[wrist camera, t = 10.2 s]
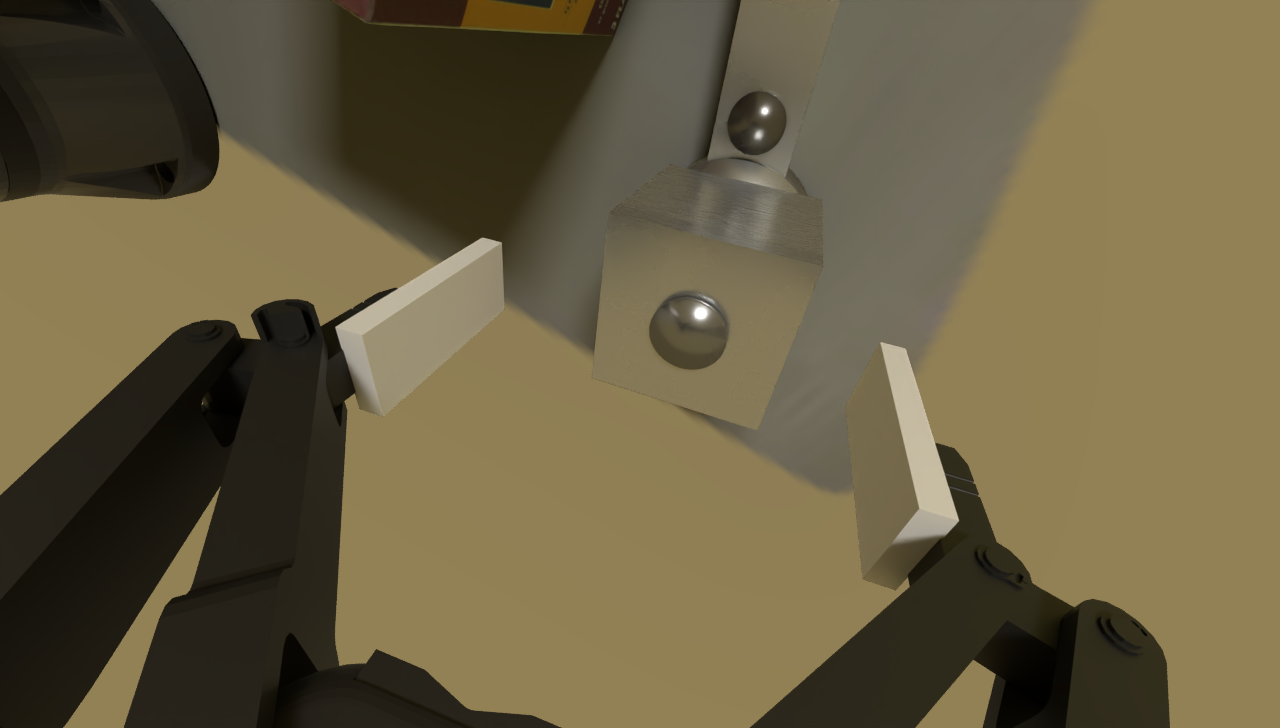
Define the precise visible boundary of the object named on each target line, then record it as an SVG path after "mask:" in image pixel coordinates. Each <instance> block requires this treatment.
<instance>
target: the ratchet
mask: <svg viewBox="0 0 1280 728" xmlns="http://www.w3.org/2000/svg"><path fill="white" fill-rule="evenodd" d="M839 4H840V0H741V3H740V8H739V13H738V18H737V22H736V27H735V32H734V36H733V41H732V46H731V51H730V55H729V60H728V65H727V69H726V74H725V79H724V83H723V88H722V93H721V98H720V102H719V107H718V112H717V116H716V121H715V126H714V131H713V135H712V140H711V145H710V149H709V154H708V155H706V156H704V157H702V158H700V159H699V160H697V161H695V162H694V163H692V164H691V165H690V166H689V167H688V169H692V170H697V171H701V172H705V173H710V174H714V175H718V176H723V177H727V178H732V179H736V180H740V181H745V182H749V183H753V184H758V185H762V186H766V187H771V188H775V189H779V190H784V191H788V192H793V193H797V194H801V195H806V196H807V194H806V191H805V189H804V187H803V185H802V184H801V182H800V181H799V179H798V178H797V177H796V175H795V174H794V173H793V172H792V171H791V170H790V169H789V168H788V167H789V164H790V161H791V158H792V154H793V151H794V148H795V145H796V142H797V138H798V135H799V132H800V129H801V126H802V122H803V119H804V116H805V113H806V109H807V106H808V103H809V100H810V97H811V93H812V90H813V87H814V84H815V81H816V77H817V74H818V71H819V68H820V65H821V61H822V58H823V55H824V52H825V49H826V45H827V42H828V39H829V36H830V32H831V29H832V26H833V23H834V20H835V16H836V13H837V10H838V7H839Z"/></svg>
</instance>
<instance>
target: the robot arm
mask: <svg viewBox="0 0 1280 728" xmlns="http://www.w3.org/2000/svg"><path fill="white" fill-rule="evenodd" d="M218 162H219V139H218V132H217V127H216V123H215V118H214V115H213V111H212V108H211V105H210V102H209V99H208V97H207V94H206V92H205V89H204V87H203V84H202V82H201V80H200V78H199V76H198V74H197V71H196V69H195V67H194V66H193V64H192V62H191V60H190V58H189V56H188V54H187V53H186V51H185V49H184V48H183V46H182V44H181V43H180V41H179V39H178V38H177V36H176V35H175V33H174V32H173V30H172V29H171V27H170V26H169V24H168V23H167V22H166V20H165V19H164V17H163V16H162V15H161V14H160V12H159V11H158V10H157V8H156V7H155V6H154V5H153V3H152V2H151V1H150V0H0V202H3V201H9V200H14V199H19V198H25V197H30V196H36V195H42V194H43V195H44V194H59V195H78V196H96V197H97V196H98V197H116V198H136V199H167V198H172V197H177V196H181V195H185V194H190V193H194V192H198V191H201V190H202V189H204V188H206V187H207V186H208V185H209V184H210V183H211V181H212V180H213V178H214V176H215V174H216V171H217V168H218ZM503 310H504V285H503V261H502V242H498V241H494V240H490V239H486V238H483V237H482V238H481V239H479V240H477V241H476V242H474V243H472V244H471V245H469V246H467V247H466V248H464V249H463V250H461V251H459V252H458V253H456V254H454V255H453V256H451V257H449V258H448V259H446V260H444V261H443V262H441V263H440V264H438V265H436V266H435V267H433V268H431V269H430V270H428V271H426V272H425V273H423V274H422V275H420V276H418V277H417V278H415V279H413V280H412V281H410V282H408V283H407V284H405V285H403V286H402V287H400V288H393V289H389V290H386V291H383V292H379V293H377V294H375V295H373V296H372V297H370V298H368V299H367V300H365V301H364V303H362V302H361V303H360V304H358V305H357V306H355V307H354V308H353V309H350V310H348V311H346V312H345V313H343V314H341V315H339V316H338V317H336V318H334V319H333V320H331V321H329V322H328V323H326V324H324V325H322V326H320V323H319V320H318V317H317V314H316V311H315V308H314V305H313V304H311V303H309V302H308V301H303V300H299V299H286V300H279V301H274V302H271V303H268V304H265V305H262V306H261V307H259V308H257V309H256V310H255V311H254V312H253V313H252V314H251V317H252V320H253V322H254V324H255V327H256V329H257V332H258V334H259V336H260V339H261V340H259V339H246V338H241V337H240V335H239V333H238V330H237V328H236V326H235V324H233V323H231V322H229V321H223V320H204V321H200V322H194V323H191V324H190V325H187V326H185V327H182V328H180V329H179V330H177V331H176V332H174V333H173V334H172V335H171V336H169V337H168V338H167V339H166V340H165V341H164V342H163V343H162V344H161V345H160V346H159V347H158V348H157V349H156V350H154V351H153V352H152V353H151V354H150V355H149V356H148V357H147V358H146V359H145V360H144V361H143V362H142V363H141V364H140V365H139V366H138V367H136V368H135V369H134V370H133V371H132V372H131V373H130V374H129V375H128V376H127V377H126V378H125V379H124V380H123V381H121V382H120V383H119V384H118V385H117V386H116V387H115V388H114V389H113V390H112V391H111V392H110V393H109V394H108V395H107V396H106V397H104V398H103V399H102V400H101V401H100V402H99V403H98V404H97V405H96V406H95V407H94V408H93V409H92V410H91V411H90V412H89V413H87V415H85V416H84V417H83V418H82V419H81V420H80V421H79V422H78V423H77V424H76V425H75V426H74V427H73V428H72V429H71V430H69V431H68V432H67V433H66V434H65V435H64V436H63V437H62V438H61V439H60V440H59V441H58V442H57V443H56V444H54V445H53V446H52V447H51V448H50V449H49V450H48V451H47V452H46V453H45V454H44V455H43V456H42V457H41V458H40V459H39V460H37V461H36V462H35V463H34V464H33V465H32V466H31V467H30V468H29V469H28V470H27V471H26V472H25V473H24V474H23V475H22V476H21V477H19V478H18V479H17V480H16V481H15V482H14V483H13V484H12V485H11V486H10V487H9V488H8V489H7V490H6V491H4V492H3V494H1V495H0V728H63V727H64V726H65V725H66V723H67V722H68V721H69V719H70V718H71V716H72V715H73V713H74V712H75V710H76V709H77V708H78V706H79V705H80V703H81V702H82V701H83V699H84V698H85V696H86V695H87V693H88V692H89V690H90V689H91V688H92V686H93V685H94V683H95V681H96V680H97V678H98V677H99V675H100V674H101V672H102V670H103V669H104V667H105V666H106V664H107V663H108V661H109V659H110V658H111V656H112V655H113V653H114V652H115V650H116V648H117V647H118V645H119V644H120V642H121V641H122V639H123V637H124V636H125V634H126V633H127V631H128V630H129V628H130V627H131V625H132V623H133V622H134V620H135V619H136V617H137V616H138V614H139V612H140V611H141V609H142V608H143V606H144V605H145V603H146V602H147V600H148V598H149V597H150V595H151V594H152V592H153V591H154V589H155V587H156V586H157V584H158V583H159V581H160V580H161V578H162V576H163V575H164V573H165V572H166V570H167V569H168V567H169V566H170V564H171V562H172V561H173V559H174V558H175V556H176V555H177V553H178V551H179V550H180V548H181V547H182V545H183V544H184V542H185V541H186V539H187V537H188V536H189V534H190V532H191V531H192V529H193V528H194V526H195V525H196V523H197V522H198V520H199V519H200V517H201V515H202V514H203V512H204V511H205V509H206V508H207V506H208V505H209V503H210V501H211V500H212V498H213V497H214V495H215V494H216V492H217V490H218V489H219V487H220V486H221V488H220V491H219V495H218V498H217V502H216V505H215V509H214V512H213V516H212V519H211V522H210V526H209V530H208V533H207V537H206V540H205V543H204V547H203V550H202V554H201V557H200V561H199V564H198V567H197V571H196V574H195V578H194V581H193V584H192V587H191V589H190V591H189V592H188V593H187V594H186V595H182V596H179V597H175V598H172V599H171V600H170V601H169V602H168V604H167V605H166V606H165V607H164V610H163V612H162V614H161V616H160V618H159V621H158V624H157V627H156V630H155V633H154V636H153V639H152V642H151V646H150V648H149V652H148V655H147V658H146V661H145V664H144V667H143V670H142V673H141V676H140V679H139V682H138V685H137V688H136V692H135V695H134V698H133V701H132V704H131V707H130V710H129V713H128V716H127V719H126V722H125V725H124V728H561V727H558V726H556V725H553V724H551V723H549V722H546V721H544V720H542V719H539V718H537V717H534V716H532V715H521V714H509V713H496V712H484V711H473V710H470V709H467V708H466V707H464V706H463V705H462V704H461V703H460V702H459V701H458V700H457V699H456V698H455V697H454V696H453V695H451V694H450V693H449V692H448V691H447V690H446V689H445V688H444V687H443V686H442V685H441V684H440V683H439V682H437V681H436V680H435V679H434V678H433V677H432V676H431V675H430V674H429V673H428V672H427V671H425V670H424V669H422V668H419V667H417V666H414V665H412V664H410V663H407V662H405V661H403V660H400V659H398V658H396V657H393V656H391V655H389V654H386V653H384V652H382V651H379V650H377V649H376V650H375V652H374V653H373V655H372V656H371V657H370V659H369V660H368V662H367V663H366V664H347V665H342V666H339V661H338V656H337V651H336V645H335V620H336V601H337V584H338V566H339V565H338V564H339V548H340V530H341V511H342V495H343V476H344V458H345V441H346V423H347V408H346V405H345V402H344V401H345V400H346V399H348V398H349V397H350V396H351V395H353V394H354V393H355V395H356V399H357V402H358V405H359V409H361V410H364V411H367V412H370V413H373V414H376V415H379V416H382V417H384V416H385V415H386V414H387V413H388V412H389V411H390V410H391V409H393V408H394V407H395V406H396V405H397V404H398V403H399V402H401V401H402V400H403V399H404V398H405V397H406V396H407V395H408V394H410V393H411V392H412V391H413V390H414V389H415V388H416V387H417V386H419V385H420V384H421V383H422V382H423V381H424V380H425V379H426V378H428V377H429V376H430V375H431V374H432V373H433V372H434V371H435V370H437V369H438V368H439V367H440V366H441V365H442V364H443V363H444V362H446V361H447V360H448V359H449V358H450V357H451V356H452V355H453V354H455V353H456V352H457V351H458V350H459V349H460V348H461V347H462V346H464V345H465V344H466V343H467V342H468V341H469V340H470V339H472V338H473V337H474V336H475V335H476V334H477V333H478V332H479V331H481V330H482V329H483V328H484V327H485V326H486V325H487V324H488V323H490V322H491V321H492V320H493V319H494V318H495V317H496V316H497V315H498V314H500V313H501V312H502V311H503ZM202 402H203V405H202ZM846 417H847V427H848V437H849V447H850V458H851V468H852V478H853V488H854V498H855V508H856V518H857V528H858V539H859V549H860V558H861V569H862V578H863V579H864V580H866V581H869V582H872V583H875V584H878V585H881V586H884V587H888V588H890V589H893V590H896V589H897V588H898V587H899V586H900V585H901V584H902V583H903V582H904V581H905V580H906V578H907V577H908V579H909V585H910V587H909V588H908V589H907V590H906V591H905V592H903V593H902V594H901V595H900V596H899V597H898V598H897V599H895V600H894V601H893V602H892V603H891V604H890V605H889V606H888V607H886V608H885V609H884V610H883V611H882V612H881V613H880V614H878V615H877V616H876V617H875V618H874V619H873V620H872V621H871V622H869V623H868V624H867V625H866V626H865V627H864V628H863V629H861V630H860V631H859V632H858V633H857V634H856V635H855V636H854V637H852V638H851V639H850V640H849V641H848V642H847V643H846V644H844V645H843V646H842V647H841V648H840V649H839V650H838V651H836V652H835V653H834V654H833V655H832V656H831V657H830V658H829V659H827V660H826V661H825V662H824V663H823V664H822V665H821V666H820V667H818V668H817V669H816V670H815V671H814V672H813V673H812V674H810V675H809V676H808V677H807V678H806V679H805V680H804V681H803V682H801V683H800V684H799V685H798V686H797V687H796V688H794V689H793V690H792V691H791V692H790V693H789V694H788V695H787V696H785V697H784V698H783V699H782V700H781V701H780V702H779V703H777V704H776V705H775V706H774V707H773V708H772V709H771V710H770V711H768V712H767V713H766V714H765V715H764V716H763V717H762V718H761V719H759V720H758V721H757V722H756V723H755V724H754V725H752V726H751V727H750V728H915V727H916V726H917V725H918V724H919V722H920V721H921V720H922V719H923V718H924V717H925V716H926V714H927V713H928V712H929V711H930V710H931V709H932V707H933V706H934V705H935V704H936V703H937V701H938V700H939V699H940V698H941V697H942V696H943V694H944V693H945V692H946V691H947V690H948V689H949V687H950V686H951V685H952V684H953V683H954V682H955V680H956V679H957V678H958V677H959V676H960V674H961V673H962V672H963V671H964V670H965V668H966V667H967V666H968V665H969V664H970V663H971V662H972V660H975V661H976V662H978V663H979V664H981V665H982V666H984V667H986V668H987V669H989V670H990V671H992V672H993V673H995V674H996V676H995V680H994V684H993V688H992V693H991V696H990V700H989V704H988V708H987V712H986V716H985V720H984V724H983V728H1170V721H1169V700H1168V680H1167V663H1166V660H1165V656H1164V653H1163V650H1162V649H1161V647H1160V646H1159V644H1158V643H1157V641H1156V640H1155V638H1154V637H1153V636H1152V635H1151V634H1150V633H1149V632H1148V631H1147V630H1146V629H1145V628H1144V627H1143V626H1142V625H1141V624H1140V623H1139V622H1138V621H1137V620H1136V619H1134V618H1133V617H1131V616H1130V615H1129V614H1127V613H1126V612H1125V611H1123V610H1122V609H1120V608H1118V607H1115V606H1114V605H1111V604H1110V603H1107V602H1104V601H1100V600H1095V599H1091V600H1086V601H1083V602H1082V603H1080V604H1079V605H1077V606H1076V607H1073V606H1071V605H1069V604H1067V603H1066V602H1064V601H1062V600H1060V599H1058V598H1057V597H1055V596H1053V595H1051V594H1050V593H1048V592H1046V591H1044V590H1042V589H1041V588H1039V587H1037V586H1036V585H1034V584H1033V583H1032V581H1031V577H1030V574H1029V572H1028V571H1027V569H1026V568H1025V566H1024V565H1023V563H1022V562H1021V561H1020V560H1019V559H1018V558H1017V557H1016V556H1015V555H1014V554H1013V553H1012V552H1011V551H1010V550H1008V549H1007V548H1005V547H1003V546H1002V545H1000V544H999V543H997V542H996V539H995V536H994V534H993V531H992V528H991V525H990V523H989V520H988V517H987V515H986V512H985V509H984V507H983V504H982V501H981V499H980V497H978V494H979V493H978V491H977V488H976V485H975V484H973V482H974V480H973V477H972V475H971V472H970V469H969V466H968V464H967V463H966V462H965V461H964V459H963V458H962V457H961V456H960V455H959V453H958V452H957V451H956V450H955V449H954V448H952V447H948V446H945V445H941V444H938V443H935V442H934V439H933V436H932V432H931V429H930V426H929V423H928V419H927V416H926V413H925V410H924V407H923V403H922V400H921V397H920V394H919V390H918V387H917V384H916V381H915V377H914V374H913V371H912V368H911V365H910V361H909V358H908V355H907V352H906V349H905V348H901V347H897V346H893V345H890V344H886V343H882V342H880V344H879V345H878V347H877V349H876V351H875V353H874V355H873V357H872V358H871V360H870V362H869V364H868V366H867V368H866V370H865V371H864V373H863V375H862V377H861V379H860V381H859V383H858V385H857V386H856V388H855V390H854V392H853V394H852V396H851V398H850V399H849V401H848V403H847V405H846Z"/></svg>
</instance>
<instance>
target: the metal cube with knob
mask: <svg viewBox="0 0 1280 728" xmlns="http://www.w3.org/2000/svg"><path fill="white" fill-rule="evenodd" d="M822 268H823V202H822V199H819V198H814V197H810V196H806V195H801V194H797V193H793V192H788V191H784V190H779V189H775V188H771V187H766V186H762V185H758V184H753V183H749V182H745V181H740V180H736V179H732V178H727V177H723V176H718V175H714V174H710V173H705V172H701V171H697V170H692V169H688V168H684V167H679V166H675V165H671V164H670V165H669V166H668V167H666V168H665V169H664V170H663V171H661V172H660V173H659V174H657V175H656V176H655V177H654V178H652V179H651V180H650V181H648V182H647V183H646V184H645V185H643V186H642V187H641V188H639V189H638V190H637V191H636V192H634V193H633V194H632V195H631V196H629V197H628V198H627V199H625V200H624V201H623V202H622V203H620V204H619V205H618V206H616V207H615V208H614V209H613V210H611V211H610V212H609V215H608V225H607V234H606V244H605V254H604V264H603V274H602V283H601V293H600V303H599V313H598V323H597V332H596V342H595V352H594V362H593V372H592V378H593V379H597V380H600V381H603V382H606V383H609V384H612V385H615V386H619V387H622V388H625V389H628V390H631V391H634V392H637V393H641V394H644V395H647V396H650V397H653V398H656V399H659V400H662V401H666V402H669V403H672V404H675V405H678V406H681V407H684V408H688V409H691V410H694V411H697V412H700V413H703V414H706V415H710V416H713V417H716V418H719V419H722V420H725V421H728V422H732V423H735V424H738V425H741V426H744V427H747V428H750V429H754V430H758V427H759V425H760V422H761V420H762V417H763V415H764V412H765V410H766V407H767V405H768V402H769V400H770V397H771V395H772V392H773V390H774V387H775V385H776V383H777V380H778V378H779V375H780V373H781V370H782V368H783V365H784V363H785V360H786V358H787V355H788V353H789V350H790V348H791V345H792V343H793V340H794V338H795V335H796V333H797V330H798V328H799V325H800V323H801V320H802V318H803V315H804V313H805V310H806V308H807V305H808V303H809V300H810V298H811V296H812V293H813V291H814V288H815V286H816V283H817V281H818V278H819V276H820V273H821V271H822Z"/></svg>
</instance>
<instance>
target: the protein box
mask: <svg viewBox="0 0 1280 728" xmlns="http://www.w3.org/2000/svg"><path fill="white" fill-rule="evenodd" d="M331 1H333V2H334V3H336V4H337V5H339V6H340V7H342V8H344V9H345V10H347V11H348V12H350V13H351V14H353V15H354V16H356V17H357V18H359V19H360V20H362V21H363V22H365V23H367V24H376V25H391V26H414V27H435V28H456V29H470V30H489V31H506V32H524V33H545V34H572V35H601V36H613V35H614V34H615V31H616V28H617V25H618V22H619V19H620V17H621V14H622V12H623V9H624V6H625V3H626V1H627V0H331Z"/></svg>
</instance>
